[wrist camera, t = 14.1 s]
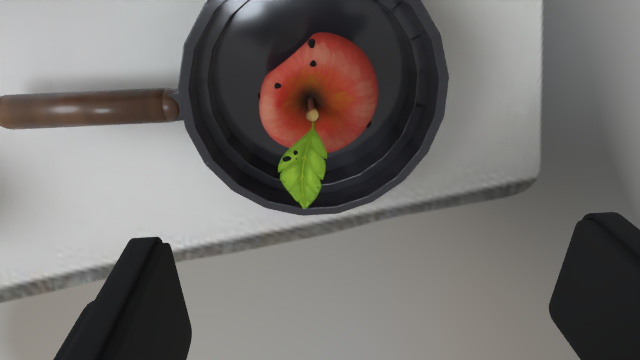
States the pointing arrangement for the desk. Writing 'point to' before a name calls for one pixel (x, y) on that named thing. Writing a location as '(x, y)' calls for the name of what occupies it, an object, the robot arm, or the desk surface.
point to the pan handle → (90, 108)
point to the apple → (317, 108)
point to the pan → (277, 46)
